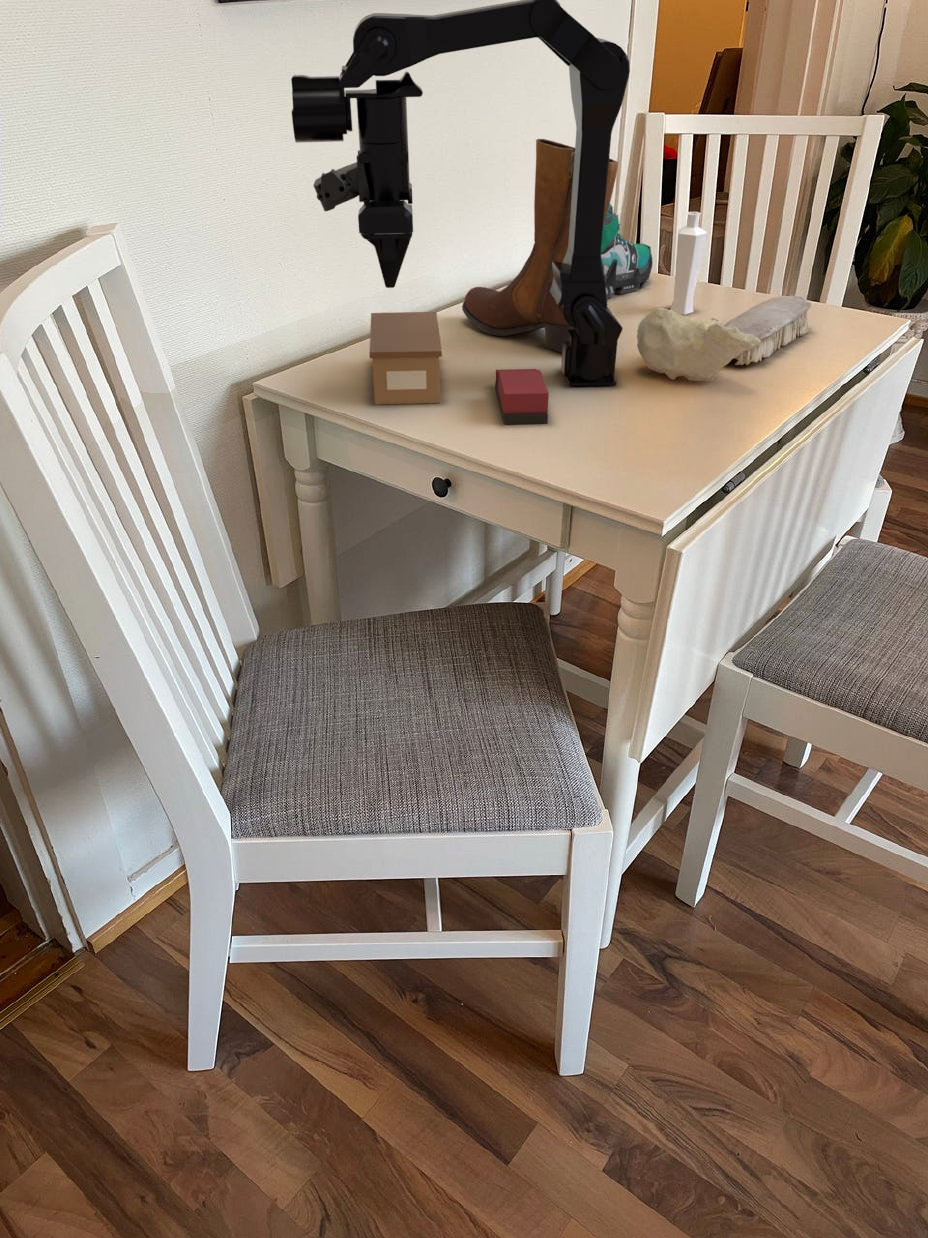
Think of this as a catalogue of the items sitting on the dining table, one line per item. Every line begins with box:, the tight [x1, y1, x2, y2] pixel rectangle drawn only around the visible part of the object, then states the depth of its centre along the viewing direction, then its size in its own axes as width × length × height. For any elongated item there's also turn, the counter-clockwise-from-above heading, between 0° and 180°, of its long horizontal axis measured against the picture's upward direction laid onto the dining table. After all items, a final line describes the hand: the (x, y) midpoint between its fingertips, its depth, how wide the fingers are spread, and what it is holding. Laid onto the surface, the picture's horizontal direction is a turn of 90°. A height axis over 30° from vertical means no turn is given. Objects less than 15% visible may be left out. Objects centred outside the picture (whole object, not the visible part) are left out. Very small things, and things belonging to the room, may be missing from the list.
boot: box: [461, 138, 619, 354], centre depth 138 cm, size 25×9×27 cm, turn 39°
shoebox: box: [369, 311, 443, 405], centre depth 128 cm, size 9×16×7 cm, turn 4°
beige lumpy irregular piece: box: [636, 307, 761, 383], centre depth 130 cm, size 15×7×15 cm
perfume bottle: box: [669, 211, 708, 316], centre depth 152 cm, size 5×4×15 cm
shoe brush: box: [723, 295, 813, 366], centre depth 141 cm, size 24×8×5 cm, turn 143°
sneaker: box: [601, 203, 653, 299], centre depth 162 cm, size 9×24×15 cm, turn 134°
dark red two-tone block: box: [494, 368, 550, 425], centre depth 122 cm, size 5×12×4 cm, turn 4°
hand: (390, 276), depth 121 cm, fingers open, 9 cm apart
